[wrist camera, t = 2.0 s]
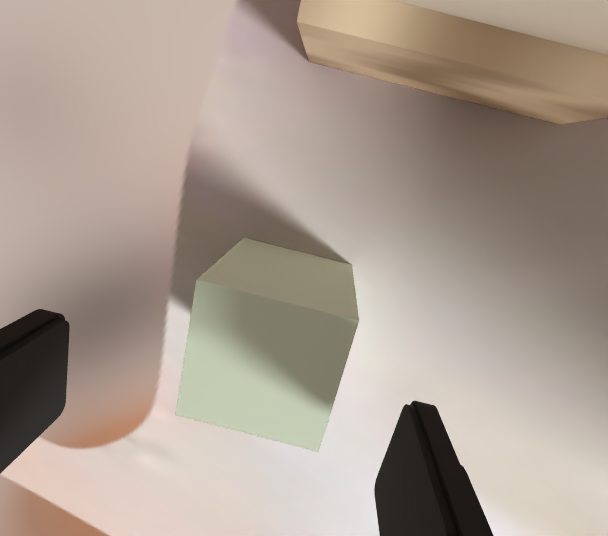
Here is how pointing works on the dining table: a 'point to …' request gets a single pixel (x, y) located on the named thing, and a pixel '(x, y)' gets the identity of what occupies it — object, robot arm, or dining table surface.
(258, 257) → the sage block
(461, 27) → the tower base
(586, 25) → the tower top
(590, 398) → the dining table surface
